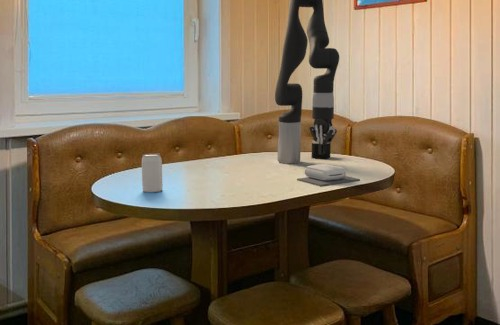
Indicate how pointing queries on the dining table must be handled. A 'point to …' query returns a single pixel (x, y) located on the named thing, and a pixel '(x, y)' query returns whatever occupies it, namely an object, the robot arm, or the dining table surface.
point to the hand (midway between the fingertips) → (322, 154)
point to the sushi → (316, 154)
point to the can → (152, 172)
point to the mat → (324, 183)
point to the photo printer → (325, 172)
